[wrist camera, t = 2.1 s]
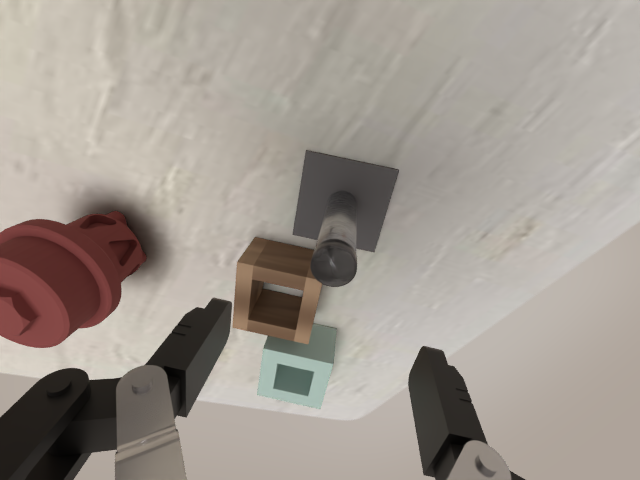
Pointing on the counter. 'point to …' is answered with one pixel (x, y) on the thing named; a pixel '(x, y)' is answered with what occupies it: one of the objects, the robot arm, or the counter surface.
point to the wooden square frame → (274, 307)
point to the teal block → (298, 368)
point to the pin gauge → (337, 242)
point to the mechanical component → (63, 276)
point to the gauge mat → (344, 175)
